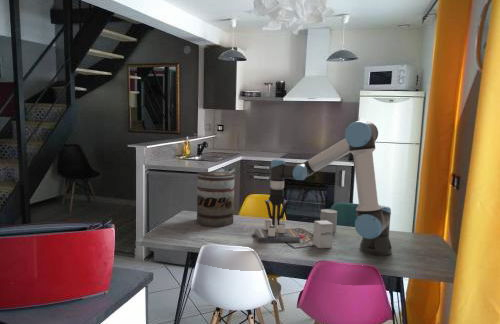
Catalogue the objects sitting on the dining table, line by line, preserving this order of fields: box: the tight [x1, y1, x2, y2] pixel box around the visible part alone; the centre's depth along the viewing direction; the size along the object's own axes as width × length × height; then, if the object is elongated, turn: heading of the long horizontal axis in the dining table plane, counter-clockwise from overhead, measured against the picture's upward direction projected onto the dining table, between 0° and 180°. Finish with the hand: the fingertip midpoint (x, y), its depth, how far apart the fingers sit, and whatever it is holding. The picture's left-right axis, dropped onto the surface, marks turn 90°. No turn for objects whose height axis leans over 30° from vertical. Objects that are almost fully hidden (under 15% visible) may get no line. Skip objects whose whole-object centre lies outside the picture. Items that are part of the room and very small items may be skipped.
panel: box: [254, 228, 301, 243], centre depth 199 cm, size 15×22×3 cm
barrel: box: [196, 171, 236, 228], centre depth 225 cm, size 22×22×30 cm
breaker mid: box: [277, 222, 286, 233], centre depth 199 cm, size 3×3×5 cm
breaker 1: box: [263, 220, 272, 230], centre depth 203 cm, size 3×3×5 cm
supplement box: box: [312, 220, 333, 249], centre depth 187 cm, size 7×7×13 cm
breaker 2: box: [268, 225, 275, 236], centre depth 192 cm, size 3×3×5 cm
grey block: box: [319, 208, 338, 235], centre depth 213 cm, size 10×10×12 cm
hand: (275, 230), depth 198 cm, fingers closed
